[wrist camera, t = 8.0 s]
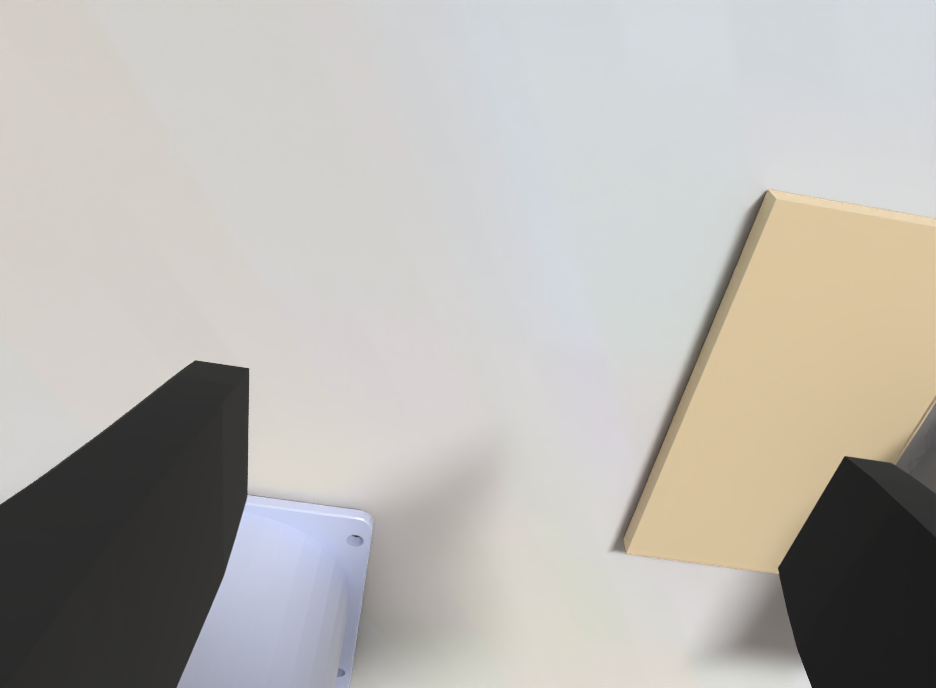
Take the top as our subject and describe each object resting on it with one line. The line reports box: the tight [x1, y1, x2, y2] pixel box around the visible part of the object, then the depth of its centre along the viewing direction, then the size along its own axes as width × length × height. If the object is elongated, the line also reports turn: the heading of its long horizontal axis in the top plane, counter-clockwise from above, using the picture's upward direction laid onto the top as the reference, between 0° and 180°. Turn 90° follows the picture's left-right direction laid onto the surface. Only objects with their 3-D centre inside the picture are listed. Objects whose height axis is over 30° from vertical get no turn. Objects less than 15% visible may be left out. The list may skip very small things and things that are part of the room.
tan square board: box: [623, 190, 936, 574], centre depth 21 cm, size 12×14×1 cm
